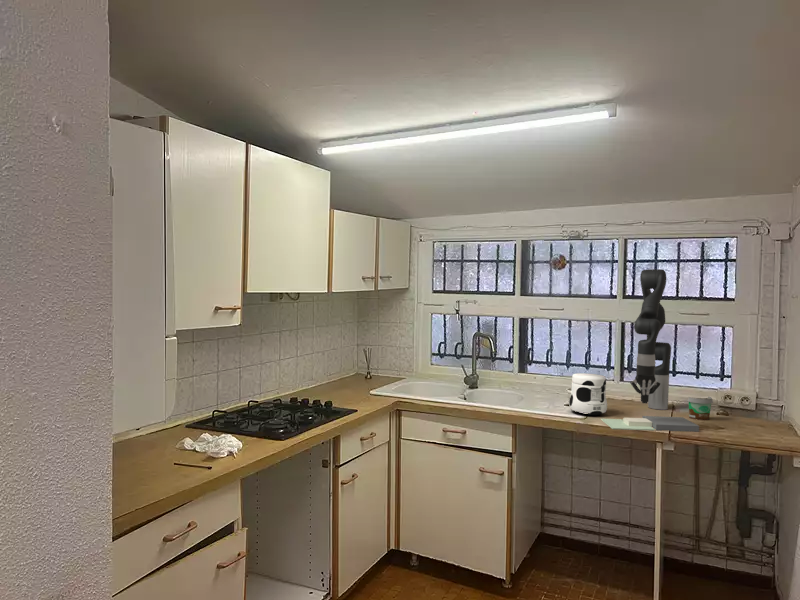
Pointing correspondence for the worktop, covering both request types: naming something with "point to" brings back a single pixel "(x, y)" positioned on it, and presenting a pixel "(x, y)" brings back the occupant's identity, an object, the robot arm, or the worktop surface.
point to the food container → (699, 408)
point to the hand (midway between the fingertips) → (644, 403)
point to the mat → (623, 425)
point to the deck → (672, 423)
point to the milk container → (588, 394)
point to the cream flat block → (637, 422)
